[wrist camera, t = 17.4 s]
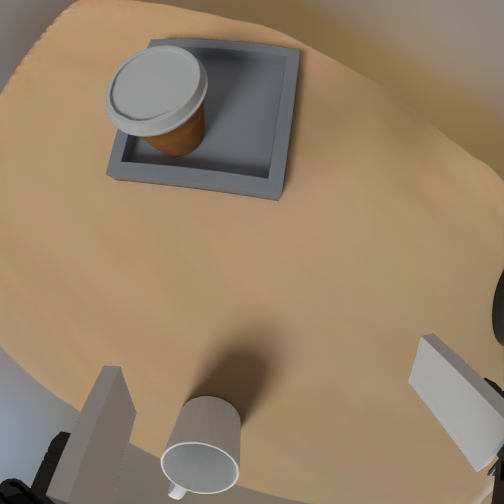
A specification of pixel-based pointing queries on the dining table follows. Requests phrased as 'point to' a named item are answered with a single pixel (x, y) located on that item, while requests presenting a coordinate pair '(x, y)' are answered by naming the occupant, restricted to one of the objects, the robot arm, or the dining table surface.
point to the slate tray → (226, 124)
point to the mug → (203, 448)
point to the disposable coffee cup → (160, 99)
